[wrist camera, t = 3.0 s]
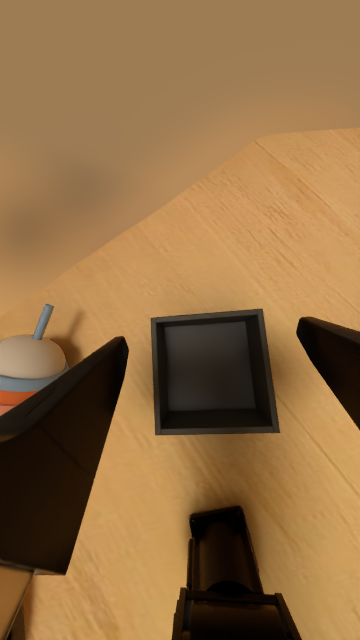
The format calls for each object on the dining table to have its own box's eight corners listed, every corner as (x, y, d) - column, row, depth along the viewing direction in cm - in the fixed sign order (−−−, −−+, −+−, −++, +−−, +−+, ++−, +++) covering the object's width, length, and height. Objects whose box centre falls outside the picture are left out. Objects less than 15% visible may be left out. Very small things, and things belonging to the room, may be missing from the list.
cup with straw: (57, 439, 25) (104, 322, 24) (-37, 496, 16) (31, 316, 15) (19, 405, 28) (60, 299, 27) (-80, 438, 19) (-24, 282, 18)
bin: (248, 317, 24) (262, 308, 19) (260, 411, 22) (280, 433, 17) (160, 323, 25) (150, 317, 20) (165, 414, 23) (155, 435, 18)
